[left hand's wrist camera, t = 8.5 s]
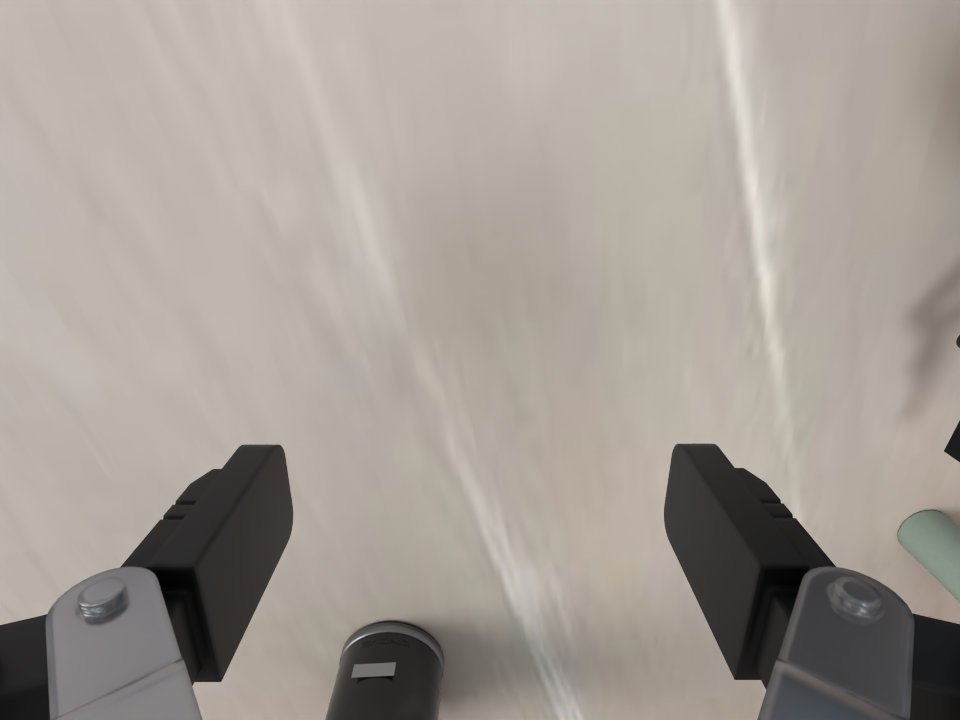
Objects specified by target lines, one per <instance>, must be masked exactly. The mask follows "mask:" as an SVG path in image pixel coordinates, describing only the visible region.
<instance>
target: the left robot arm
mask: <svg viewBox="0 0 960 720" xmlns="http://www.w3.org/2000/svg"><path fill="white" fill-rule="evenodd" d="M780 501H781V500H780V499H779V498H778V497H777V495H776V494H775V493H774V492H773V491H772V489H771V488H770V487H769V486H768V485H767V483H766V482H764V481H762V480H761V479H759V478H758V477H756V476H755V475H753V474H752V473H750V472H749V471H747V470H746V469H744V468H734V466H733V465H732V464H731V463H730V461H729V460H728V459H727V457H726V456H725V455H724V454H723V452H722V451H721V450H720V448H719V447H718V446H717V445H715V444H677V445H675V447H674V449H673V452H672V458H671V465H670V472H669V478H668V485H667V492H666V499H665V506H664V522H665V529H666V533H667V536H668V539H669V541H670V543H671V546H672V548H673V550H674V552H675V554H676V556H677V558H678V560H679V563H680V565H681V567H682V569H683V571H684V573H685V575H686V577H687V580H688V582H689V584H690V586H691V588H692V590H693V592H694V594H695V597H696V599H697V601H698V603H699V605H700V607H701V609H702V611H703V613H704V616H705V618H706V620H707V622H708V624H709V626H710V628H711V630H712V633H713V635H714V637H715V639H716V641H717V643H718V645H719V647H720V650H721V652H722V654H723V656H724V658H725V660H726V662H727V664H728V667H729V669H730V671H731V673H732V675H733V677H734V679H735V680H761V681H762V682H763V684H764V686H765V688H766V694H765V697H764V700H763V703H762V707H761V710H760V713H759V716H758V719H757V720H960V624H956V623H951V622H947V621H943V620H938V619H934V618H929V617H925V616H921V615H916V614H912V612H911V610H910V609H909V607H908V605H907V604H906V603H905V602H904V601H903V600H902V598H900V597H899V596H898V595H897V594H896V593H895V592H894V591H892V590H891V589H890V588H888V587H887V586H885V585H884V584H882V583H880V582H879V581H877V580H875V579H873V578H871V577H869V576H866V575H864V574H862V573H859V572H856V571H853V570H849V569H845V568H839V567H836V566H835V565H834V564H833V563H832V561H831V560H830V559H829V558H828V557H827V555H826V554H825V553H824V552H823V551H822V549H821V548H820V547H819V546H818V545H817V543H816V542H815V541H814V540H813V539H812V537H811V536H810V535H809V534H808V533H807V531H806V530H805V529H804V528H803V527H802V525H801V524H800V523H799V522H798V521H797V519H796V518H793V516H792V513H791V512H790V511H789V510H788V509H787V507H786V506H785V505H784V504H781V502H780ZM292 525H293V506H292V499H291V492H290V485H289V479H288V472H287V465H286V458H285V453H284V450H283V448H282V446H280V445H241V446H240V447H239V448H238V449H237V450H236V452H235V453H234V454H233V455H232V457H231V458H230V459H229V460H228V462H227V463H226V464H225V466H224V467H223V468H222V469H213V470H211V471H210V472H208V473H207V474H205V475H203V476H202V477H200V478H199V479H197V480H196V481H194V482H193V483H191V484H190V485H189V486H188V487H187V489H186V490H185V491H184V492H183V493H182V495H181V496H180V497H179V498H178V499H177V500H176V504H175V505H172V506H171V508H170V509H169V510H168V511H167V512H166V514H165V515H164V518H163V520H160V521H159V522H158V523H157V524H156V525H155V527H154V528H153V529H152V530H151V531H150V533H149V534H148V535H147V536H146V537H145V539H144V540H143V541H142V542H141V543H140V544H139V546H138V547H137V548H136V549H135V550H134V552H133V553H132V554H131V555H130V556H129V558H128V559H127V560H126V561H125V562H124V564H123V565H122V566H121V567H120V568H115V569H111V570H107V571H104V572H101V573H98V574H96V575H94V576H91V577H89V578H87V579H85V580H83V581H81V582H80V583H78V584H76V585H75V586H73V587H72V588H70V589H69V590H68V591H66V592H65V593H64V594H63V595H62V596H61V597H60V598H58V600H57V601H56V602H55V603H54V604H53V605H52V607H51V609H50V610H49V612H48V614H46V615H43V616H39V617H34V618H30V619H26V620H21V621H17V622H12V623H8V624H4V625H0V720H203V719H202V716H201V713H200V710H199V707H198V703H197V700H196V697H195V694H194V690H193V687H192V686H193V684H194V682H221V681H222V679H223V677H224V675H225V673H226V671H227V669H228V666H229V664H230V662H231V660H232V658H233V656H234V654H235V652H236V650H237V648H238V645H239V643H240V641H241V639H242V637H243V635H244V633H245V631H246V629H247V627H248V624H249V622H250V620H251V618H252V616H253V614H254V612H255V610H256V608H257V606H258V604H259V601H260V599H261V597H262V595H263V593H264V591H265V589H266V587H267V585H268V583H269V580H270V578H271V576H272V574H273V572H274V570H275V568H276V566H277V564H278V562H279V560H280V557H281V555H282V553H283V551H284V549H285V547H286V545H287V543H288V541H289V538H290V535H291V531H292ZM443 664H444V659H443V654H442V651H441V649H440V647H439V645H438V644H437V642H436V641H435V640H434V639H433V638H432V637H431V636H429V635H428V634H427V633H425V632H424V631H422V630H420V629H418V628H416V627H413V626H410V625H406V624H401V623H378V624H373V625H370V626H367V627H364V628H362V629H360V630H359V631H357V632H356V633H354V634H353V635H352V636H351V637H350V638H349V639H348V640H347V642H346V644H345V646H344V648H343V651H342V655H341V659H340V665H339V670H338V674H337V678H336V682H335V686H334V689H333V692H332V696H331V700H330V704H329V708H328V711H327V715H326V719H325V720H438V715H439V704H440V690H441V679H442V675H443Z"/></svg>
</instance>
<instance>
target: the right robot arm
mask: <svg viewBox="0 0 960 720" xmlns="http://www.w3.org/2000/svg"><path fill="white" fill-rule="evenodd" d="M956 342H957V346H958V347H960V335H959V337H958V338H957V341H956ZM944 452H946V453H947V454H949V455H950V456H952V457H953V458H955V459H956V460H957V461H959V462H960V421H959V423H958V425H957V427H956V429H955V431H954V433H953V435H952V437H951V439H950V440H949V442H948V444H947V446H946V448H945V450H944Z"/></svg>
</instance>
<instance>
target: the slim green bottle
mask: <svg viewBox="0 0 960 720" xmlns="http://www.w3.org/2000/svg"><path fill="white" fill-rule="evenodd" d="M898 539H899V542H900V544H901V545H902V546H903V547H904V548H905V549H906V550H907V551H908V552H909V553H910V554H911V555H912V556H913V557H914V558H915V559H916V560H917V561H918V562H919V563H920V564H921V565H922V566H923V567H924V568H925V569H926V570H927V571H928V572H929V573H930V574H932V575H933V576H934V577H935V578H936V579H937V580H938V581H939V582H940V583H941V584H942V585H943V586H944V587H945V588H946V589H947V590H948V591H949V592H950V593H951V594H952V595H953V596H954V597H955V598H956V599H957V600H958V601H959V602H960V527H959V526H958V525H957V524H956V523H955V522H953V521H952V520H951V519H950V518H948V517H947V516H946V515H945V514H943V513H941V512H939V511H934V510H927V511H922V512H919V513H916V514H914V515H912V516H911V517H909V518H908V519H907V520H906V521H905V522H904V523H903V524H902V525H901V527H900V529H899V532H898Z"/></svg>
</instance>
